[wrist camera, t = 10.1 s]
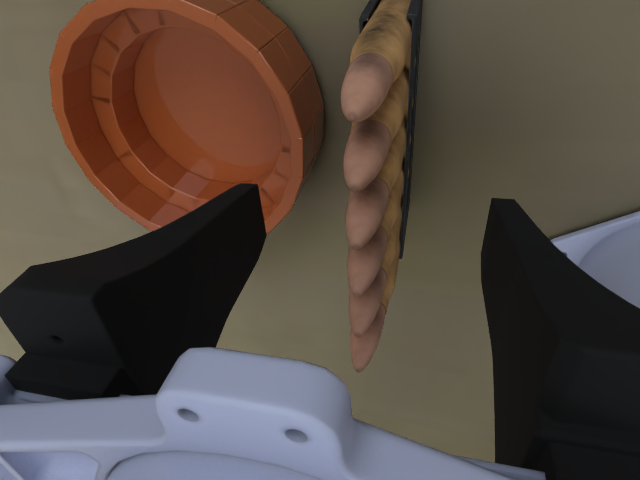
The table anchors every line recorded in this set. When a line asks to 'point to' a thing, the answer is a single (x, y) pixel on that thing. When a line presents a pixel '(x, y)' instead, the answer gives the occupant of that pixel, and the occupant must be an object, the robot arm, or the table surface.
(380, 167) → the ammunition clip
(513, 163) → the table surface
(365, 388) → the table surface
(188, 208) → the bowl
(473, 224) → the table surface
